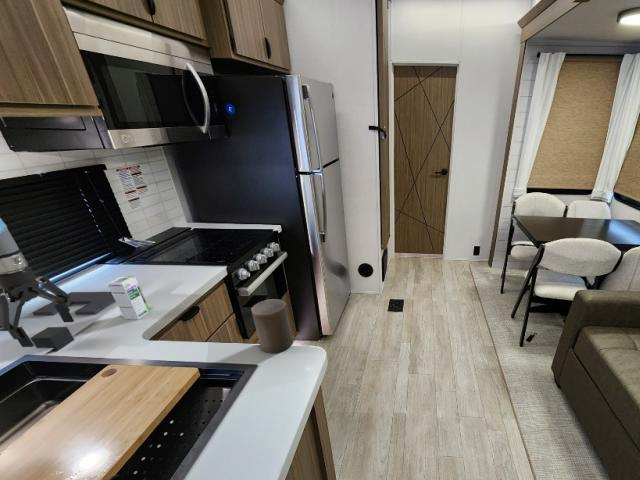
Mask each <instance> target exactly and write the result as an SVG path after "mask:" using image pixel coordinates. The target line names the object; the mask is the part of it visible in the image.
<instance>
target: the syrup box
mask: <svg viewBox="0 0 640 480" xmlns="http://www.w3.org/2000/svg"><path fill="white" fill-rule="evenodd" d="M106 285H107V287H108V289H109V292H111V293H112V295H113V297H114V299H115V301H116V302H115V303H116V305H117V307H118V309H119V311H120V313H121V316H122V317H123V319H124V320H140V319H141V318H143V317H144V316H146V315H148V314H149V313H151V310H150V307H149V305H148V303H147V301H146V298H145V296H144V293H143V292H142V290H141V287H140V285H139V282H138V280H137V278H136V277H135V276H130V275H129V276H128V275H127V276H125V275H124V276H123V275H122V276H119V277H118V278H115V279H114V280H112V281H109V282H107V283H106Z"/></svg>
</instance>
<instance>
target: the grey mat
mask: <svg viewBox="0 0 640 480" xmlns="http://www.w3.org/2000/svg"><path fill="white" fill-rule="evenodd" d="M67 294H68V295H70V298H68V300H69V302H68V303H66V304H67V305H68V307H69V308H70V307H71V306H74V305H83V306H81V307H80V308H78V309H77V310H75V311H74V315H75V316H94V315H97V314H98V313H100V312H102V311H103V310H105V309H107V308H109V307H110V306H111V305H113V304H114V303H116V301H115V299H114V297H113V295H112V293H111V291H71V292H68V293H67ZM55 304H58V303H55V302H52V301H50V302H49V303H48V304H46V305H44V306H41V307H40V308H38V309H36V310H34V311H32V314H33V316H55V315H57V314H59V313H58V311H57V309H56V308H55V306H54V305H55Z"/></svg>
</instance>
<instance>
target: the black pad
mask: <svg viewBox="0 0 640 480" xmlns="http://www.w3.org/2000/svg"><path fill="white" fill-rule="evenodd" d="M29 338H30V340H31V341H32V343H33V344H34V347H35V348H36V349H50V350H49V352H59V351H60V350H62V349H64V348H65V347H66V346H68V345H69V344H71V343H72V342H73V341H75V338H74V336H73V334H72V333H71V331H70V328H69V327H68V326H48V327H46V328H44V329H42V330H41V331H39V332H38V333H36V334H35V335H32V336H31V337H29Z"/></svg>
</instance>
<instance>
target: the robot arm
mask: <svg viewBox="0 0 640 480" xmlns="http://www.w3.org/2000/svg"><path fill="white" fill-rule="evenodd" d="M28 265H29V263H28V262H27V260H26V258H25V257H24V255H23V253H22V252H21V250H20V248H19V246H18V245H17V243H16V241H15V239H14V237H13V236H12V234H11V233H10V231H9V229H8V226H7V224H6V223H5V222H4V221H3V219H2V218H1V217H0V289H2V290H3V293H1V294H0V332H8V333H9V335H10V337H11V338H12V339H13V340H17V341H18V343H19V344H20V346H21V347H22V348H33V347H35V345H34V343H33V342H32V340H31V339H30V338H31V337H30V336H28V335H29V334H27V332H26V330H25V329H24V327H23V326H19V324H20V319H21V316H22V315H21V314H22V310H23V307H24V306H25V304H26V303H27V302H29V301H31V300H32V299H36V298H37V297H39V298H42V299H45V300H47V301H49V302H55V303H58V304H55V305H54V306H55V308H56V309H57V311H58V313H57V314H58V315H59V316H60V318H61V320H62V321H63V323H73V322H75V320H74V318H73V316H72V314H71V313H70V311H71V309H70V306H69V307H68V305H67V304H66V303H68V302H69V300H68V298H70V295H68V293H67V292H66V291H64V290H63V289H61V287H59V286H57V285H56V284H55V283H53V282H52V281H51V280H50V278H49V277H48V276H46V275H45V276H42V275H41V276H36V274H35V273H34V271H33V269H32V268H31V267H30V266H28ZM40 286H41V287H42V288H44V289H45V290H44V289H42V288H40ZM46 290H47V291H49V292H47V291H46Z"/></svg>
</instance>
